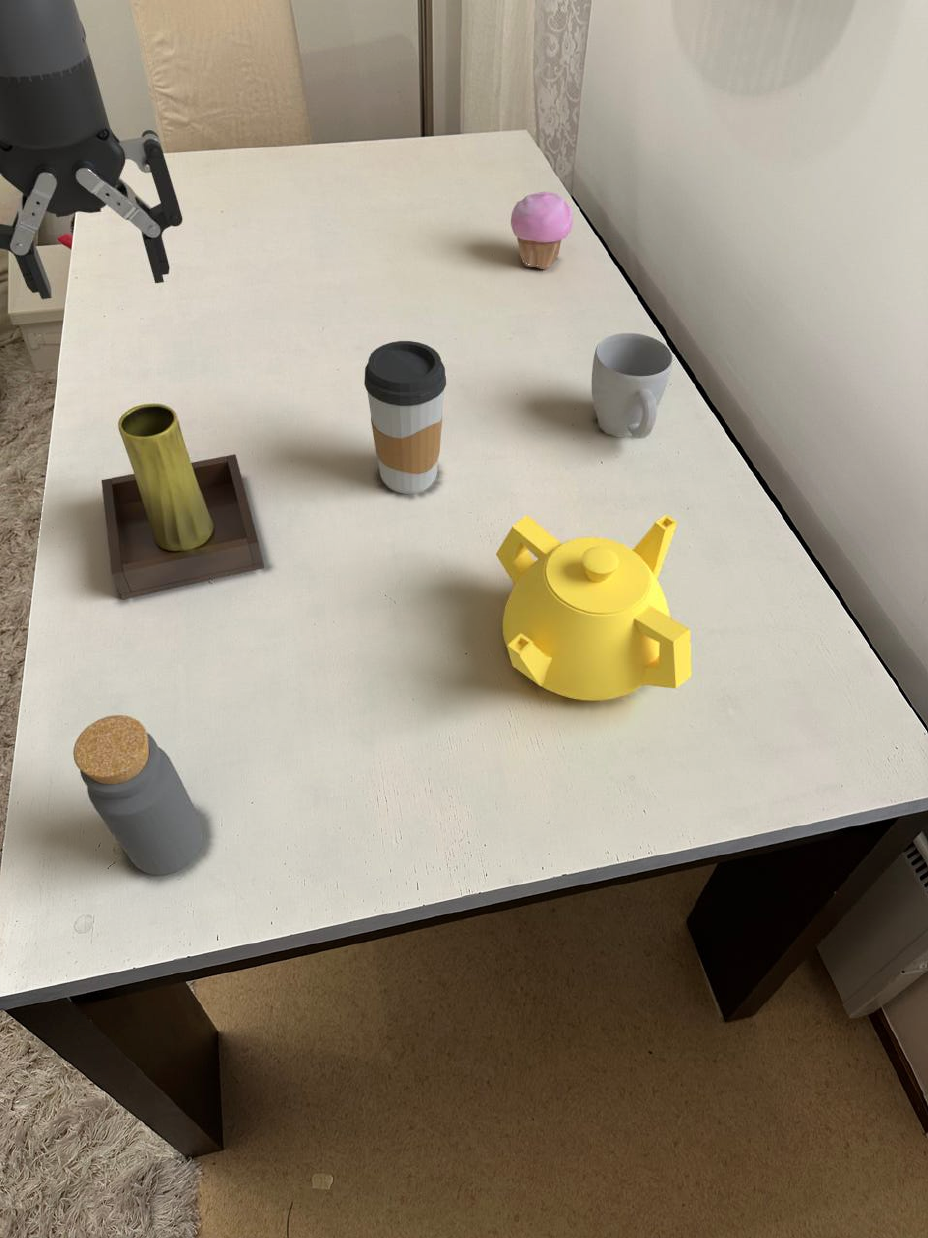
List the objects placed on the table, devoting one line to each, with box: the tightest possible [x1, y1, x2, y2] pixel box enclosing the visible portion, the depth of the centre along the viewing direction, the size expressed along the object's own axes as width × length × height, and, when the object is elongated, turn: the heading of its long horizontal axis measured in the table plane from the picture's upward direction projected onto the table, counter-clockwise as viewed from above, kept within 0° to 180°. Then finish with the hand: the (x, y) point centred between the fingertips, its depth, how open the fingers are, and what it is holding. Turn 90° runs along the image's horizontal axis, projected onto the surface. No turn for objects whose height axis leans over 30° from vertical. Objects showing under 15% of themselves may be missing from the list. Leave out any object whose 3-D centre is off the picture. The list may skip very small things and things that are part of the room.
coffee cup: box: [363, 340, 447, 495], centre depth 90 cm, size 8×8×15 cm
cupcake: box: [510, 191, 574, 270], centre depth 122 cm, size 9×9×10 cm
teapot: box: [495, 514, 693, 702], centre depth 76 cm, size 17×17×12 cm
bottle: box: [73, 714, 205, 877], centre depth 61 cm, size 6×6×15 cm
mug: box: [591, 332, 674, 439], centre depth 98 cm, size 12×9×10 cm
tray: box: [101, 453, 265, 600], centre depth 87 cm, size 14×14×4 cm
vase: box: [117, 403, 213, 552], centre depth 82 cm, size 6×6×14 cm
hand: (103, 285), depth 67 cm, fingers open, 8 cm apart
